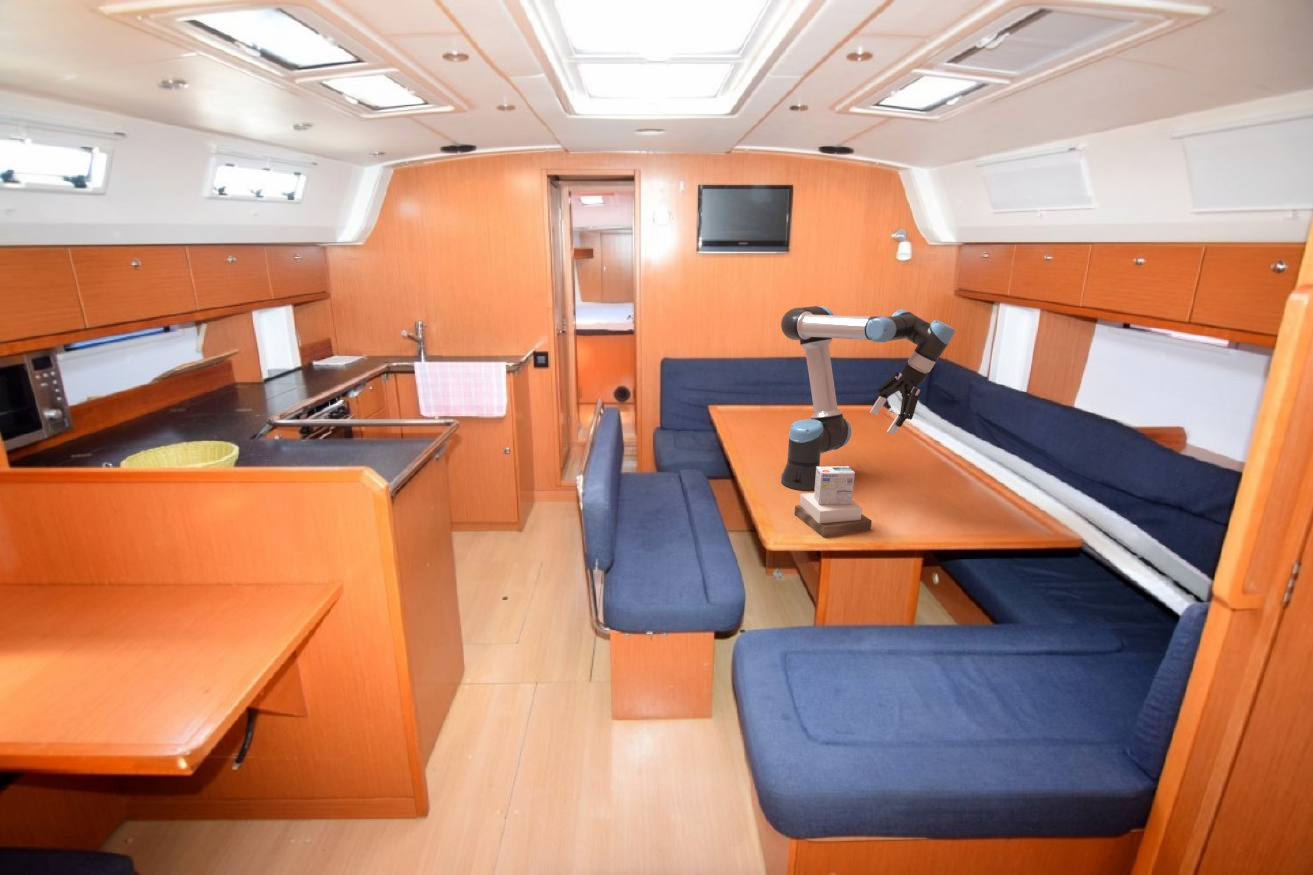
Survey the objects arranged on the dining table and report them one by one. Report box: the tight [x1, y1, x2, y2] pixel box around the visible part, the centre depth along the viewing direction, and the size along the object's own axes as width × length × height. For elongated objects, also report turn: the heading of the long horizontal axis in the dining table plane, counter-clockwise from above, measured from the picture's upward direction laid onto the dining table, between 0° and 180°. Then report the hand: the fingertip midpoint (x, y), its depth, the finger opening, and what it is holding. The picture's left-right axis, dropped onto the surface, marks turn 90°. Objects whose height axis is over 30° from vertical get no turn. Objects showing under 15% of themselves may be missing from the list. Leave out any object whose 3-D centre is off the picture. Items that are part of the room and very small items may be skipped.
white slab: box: [799, 492, 863, 523], centre depth 196 cm, size 14×14×4 cm
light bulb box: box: [813, 465, 856, 505], centre depth 193 cm, size 11×7×11 cm, turn 92°
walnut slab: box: [794, 504, 872, 538], centre depth 197 cm, size 17×17×4 cm
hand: (881, 423), depth 205 cm, fingers open, 13 cm apart
